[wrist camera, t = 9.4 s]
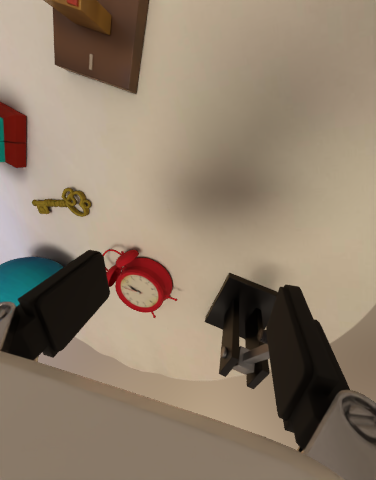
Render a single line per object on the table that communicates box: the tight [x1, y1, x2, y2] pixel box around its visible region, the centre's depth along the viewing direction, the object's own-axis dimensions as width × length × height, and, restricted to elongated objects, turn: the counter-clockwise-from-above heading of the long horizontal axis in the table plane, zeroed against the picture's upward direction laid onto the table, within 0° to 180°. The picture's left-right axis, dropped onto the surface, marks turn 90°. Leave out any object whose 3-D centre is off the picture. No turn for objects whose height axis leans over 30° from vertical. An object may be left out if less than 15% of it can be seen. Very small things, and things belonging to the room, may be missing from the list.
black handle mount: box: [205, 273, 278, 389], centre depth 30 cm, size 12×10×12 cm
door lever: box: [232, 329, 270, 374], centre depth 23 cm, size 12×5×2 cm, turn 163°
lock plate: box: [53, 0, 149, 94], centre depth 22 cm, size 10×10×2 cm
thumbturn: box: [44, 0, 112, 35], centre depth 19 cm, size 4×2×5 cm, turn 72°
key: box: [32, 188, 91, 217], centre depth 34 cm, size 12×1×5 cm
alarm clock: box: [103, 249, 177, 318], centre depth 36 cm, size 10×6×15 cm
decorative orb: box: [0, 257, 63, 307], centre depth 37 cm, size 15×15×15 cm
